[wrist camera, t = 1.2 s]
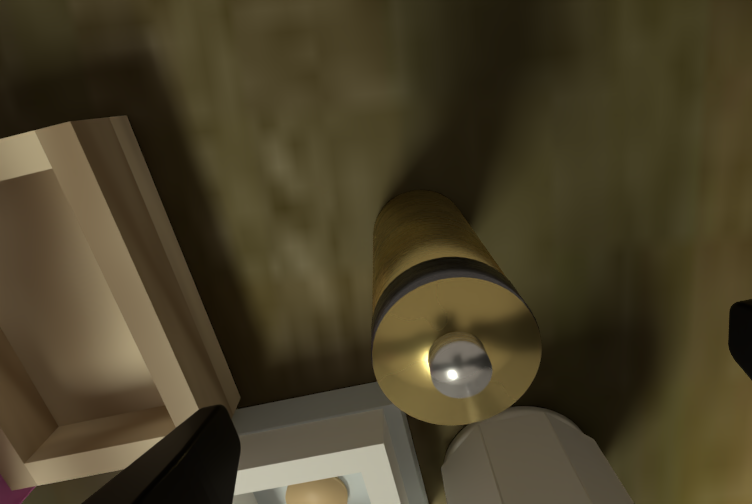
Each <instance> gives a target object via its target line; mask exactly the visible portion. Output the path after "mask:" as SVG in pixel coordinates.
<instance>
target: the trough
mask: <svg viewBox="0 0 752 504" xmlns="http://www.w3.org/2000/svg"><path fill="white" fill-rule="evenodd" d="M240 398H241V397H240V395H239V392H238V390H237V387H236V385H235V382H234V380H233V377H232V375H231V372H230V370H229V367H228V365H227V362H226V360H225V357H224V355H223V353H222V350H221V348H220V345H219V343H218V340H217V338H216V335H215V333H214V330H213V328H212V325H211V323H210V320H209V318H208V315H207V313H206V310H205V308H204V306H203V303H202V301H201V298H200V296H199V293H198V291H197V288H196V286H195V283H194V281H193V278H192V276H191V273H190V271H189V268H188V266H187V263H186V261H185V258H184V256H183V254H182V251H181V249H180V246H179V244H178V241H177V239H176V236H175V234H174V231H173V229H172V226H171V224H170V221H169V219H168V216H167V214H166V211H165V209H164V207H163V204H162V202H161V199H160V197H159V194H158V192H157V189H156V187H155V184H154V182H153V179H152V177H151V174H150V172H149V169H148V167H147V164H146V162H145V160H144V157H143V155H142V152H141V150H140V147H139V145H138V142H137V140H136V137H135V135H134V132H133V130H132V127H131V125H130V122H129V120H128V117H127V115H124V116H115V117H105V118H96V119H87V120H77V121H69V122H65V123H61V124H57V125H54V126H50V127H46V128H42V129H38V130H34V131H30V132H26V133H22V134H18V135H14V136H10V137H6V138H2V139H0V474H1V476H2V477H3V479H4V480H5V482H6V483H7V485H8V486H9V488H10V489H11V491H13V490H18V489H23V488H28V487H34V486H39V485H44V484H49V483H54V482H60V481H65V480H70V479H75V478H81V477H86V476H91V475H96V474H101V473H107V472H112V471H117V470H122V469H125V468H126V467H128V466H129V465H130V464H131V463H133V462H134V461H135V460H136V459H138V458H139V457H140V456H141V455H143V454H144V453H145V452H146V451H148V450H149V449H150V448H151V447H153V446H154V445H155V444H156V443H158V442H159V441H160V440H161V439H163V438H164V437H165V436H166V435H168V434H169V433H170V432H171V431H173V430H174V429H175V428H176V427H177V426H179V425H180V424H181V423H182V422H184V421H185V420H186V419H187V418H189V417H190V416H191V415H192V414H194V413H195V412H196V411H197V410H199V409H200V408H203V407H208V406H213V405H218V404H221V405H224V406H225V407H226V408H227V410H228V412H229V415H230V417H231V419H232V417H233V415H234V412H235V410H236V408H237V405H238V403H239V401H240Z"/></svg>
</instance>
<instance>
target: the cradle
mask: <svg viewBox="0 0 752 504" xmlns="http://www.w3.org/2000/svg"><path fill="white" fill-rule="evenodd" d="M232 422H233V424H234V426H235V429H236V431H237V434H238V436H239V439H240V444H241V453H240V459H239V466H238V472H237V478H236V484H235V491H234V497H233V503H232V504H429V503H428V499H427V495H426V491H425V487H424V483H423V479H422V475H421V471H420V467H419V464H418V460H417V456H416V452H415V448H414V444H413V440H412V436H411V432H410V428H409V425H408V421H407V417H406V413H405V412H403V411H401V410H400V409H399V408H398V407H396V406H395V405H394V404H393V403H392V402H391V401H390V400H389V399H388V398H387V397H386V395H385V394H384V393H383V391H382V390H381V388H380V386H379V384H378V382H373V383H367V384H362V385H357V386H352V387H347V388H342V389H337V390H332V391H327V392H322V393H317V394H312V395H307V396H302V397H297V398H292V399H287V400H282V401H277V402H272V403H266V404H261V405H256V406H251V407H246V408H241V409H236V410H235V412H234V415H233V417H232Z"/></svg>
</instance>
